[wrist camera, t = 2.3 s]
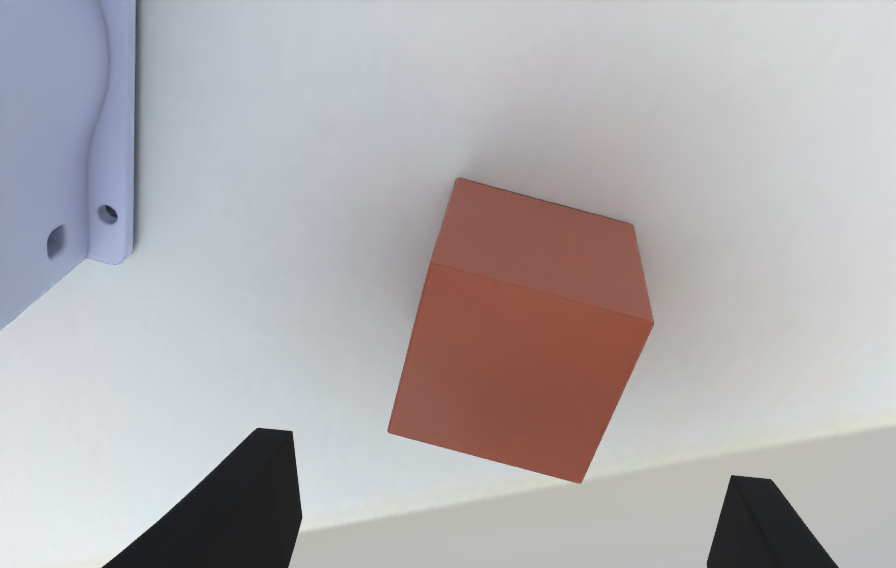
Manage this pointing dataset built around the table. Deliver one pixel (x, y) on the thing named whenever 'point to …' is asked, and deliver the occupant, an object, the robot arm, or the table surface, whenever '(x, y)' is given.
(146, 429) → the table surface
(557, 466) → the block
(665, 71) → the table surface
